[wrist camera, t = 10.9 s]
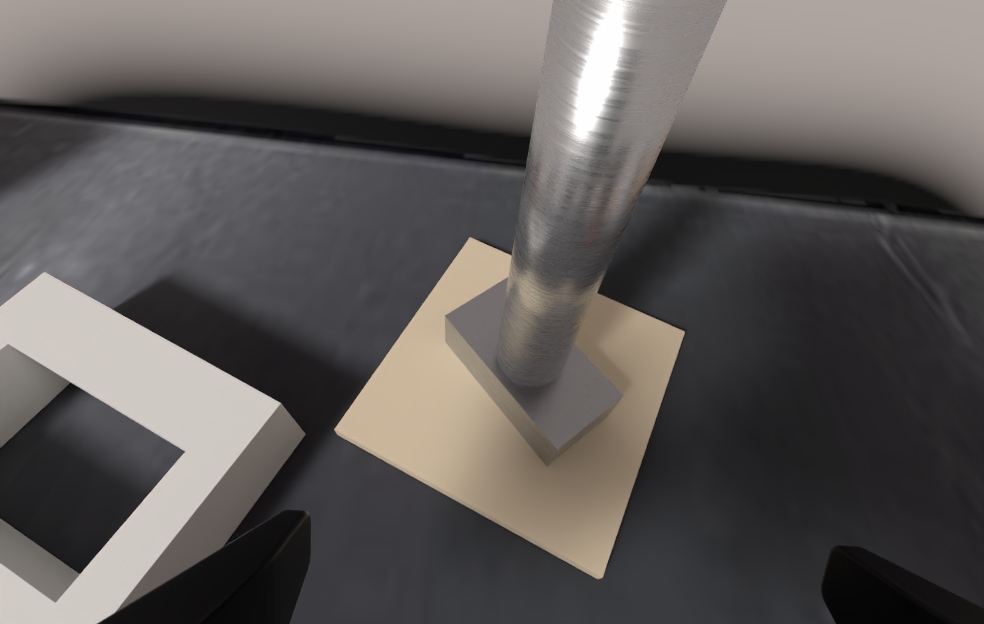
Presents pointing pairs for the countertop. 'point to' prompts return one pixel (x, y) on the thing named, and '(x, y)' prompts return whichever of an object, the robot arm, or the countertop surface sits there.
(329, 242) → the countertop surface
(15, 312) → the white hollow block
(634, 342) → the mat
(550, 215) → the grey block with rod
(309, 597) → the countertop surface
